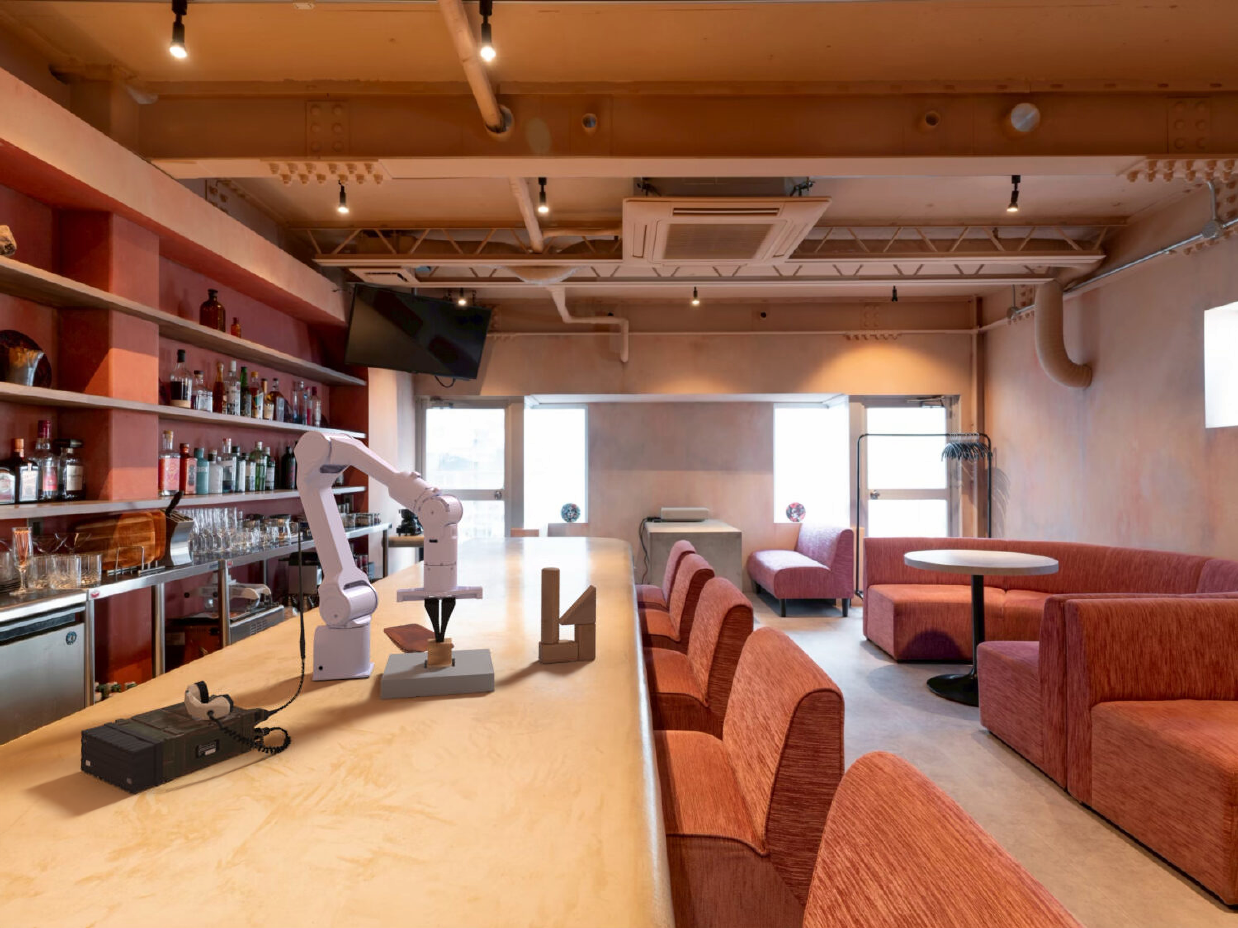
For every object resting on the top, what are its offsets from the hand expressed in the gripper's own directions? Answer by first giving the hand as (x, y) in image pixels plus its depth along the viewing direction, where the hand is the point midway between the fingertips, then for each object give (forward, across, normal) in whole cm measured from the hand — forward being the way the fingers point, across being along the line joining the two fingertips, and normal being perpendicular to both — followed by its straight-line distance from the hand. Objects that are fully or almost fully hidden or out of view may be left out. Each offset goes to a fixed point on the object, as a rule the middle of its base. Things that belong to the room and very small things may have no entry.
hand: (439, 641), depth 118 cm
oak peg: (+7, 0, 0) cm, 7 cm away
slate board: (+7, 0, 0) cm, 7 cm away
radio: (+7, -28, -24) cm, 38 cm away
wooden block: (+7, +24, +8) cm, 26 cm away
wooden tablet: (+8, -6, +33) cm, 34 cm away
